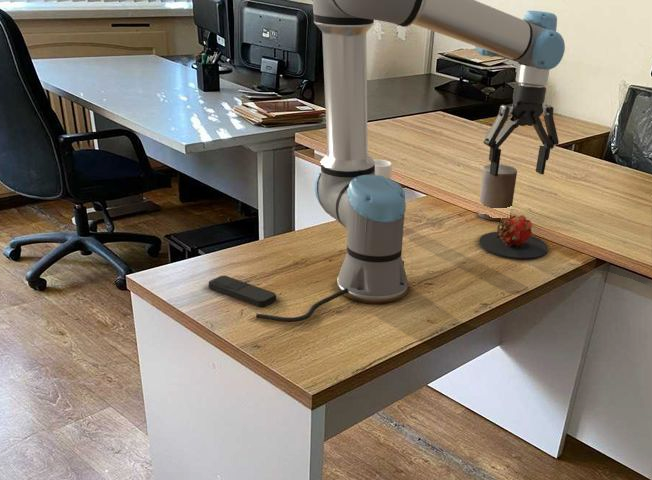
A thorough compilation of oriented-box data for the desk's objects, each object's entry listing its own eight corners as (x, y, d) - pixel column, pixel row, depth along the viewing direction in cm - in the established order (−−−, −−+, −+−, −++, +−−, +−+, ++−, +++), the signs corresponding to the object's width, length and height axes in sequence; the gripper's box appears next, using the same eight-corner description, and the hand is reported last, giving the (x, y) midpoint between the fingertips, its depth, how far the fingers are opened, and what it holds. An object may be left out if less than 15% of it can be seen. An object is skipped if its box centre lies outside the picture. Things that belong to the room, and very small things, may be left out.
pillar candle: (517, 218, 201) (525, 166, 194) (494, 223, 195) (501, 170, 188) (493, 207, 207) (500, 157, 200) (470, 213, 201) (476, 161, 194)
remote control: (278, 301, 144) (222, 279, 149) (278, 294, 143) (222, 272, 148) (262, 310, 140) (206, 287, 145) (262, 302, 139) (205, 279, 144)
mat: (501, 263, 171) (501, 260, 171) (466, 236, 185) (466, 234, 184) (561, 256, 179) (561, 253, 178) (523, 231, 192) (524, 229, 192)
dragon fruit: (494, 254, 178) (520, 250, 187) (520, 244, 172) (546, 240, 181) (485, 222, 178) (511, 220, 187) (511, 211, 172) (537, 209, 181)
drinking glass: (360, 213, 193) (362, 159, 185) (382, 212, 195) (385, 158, 188) (369, 222, 187) (372, 166, 180) (392, 220, 190) (396, 165, 183)
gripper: (565, 82, 171) (549, 167, 182) (476, 80, 161) (466, 171, 172) (583, 88, 166) (566, 176, 176) (492, 86, 155) (480, 180, 166)
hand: (516, 174), depth 174 cm, fingers open, 13 cm apart
